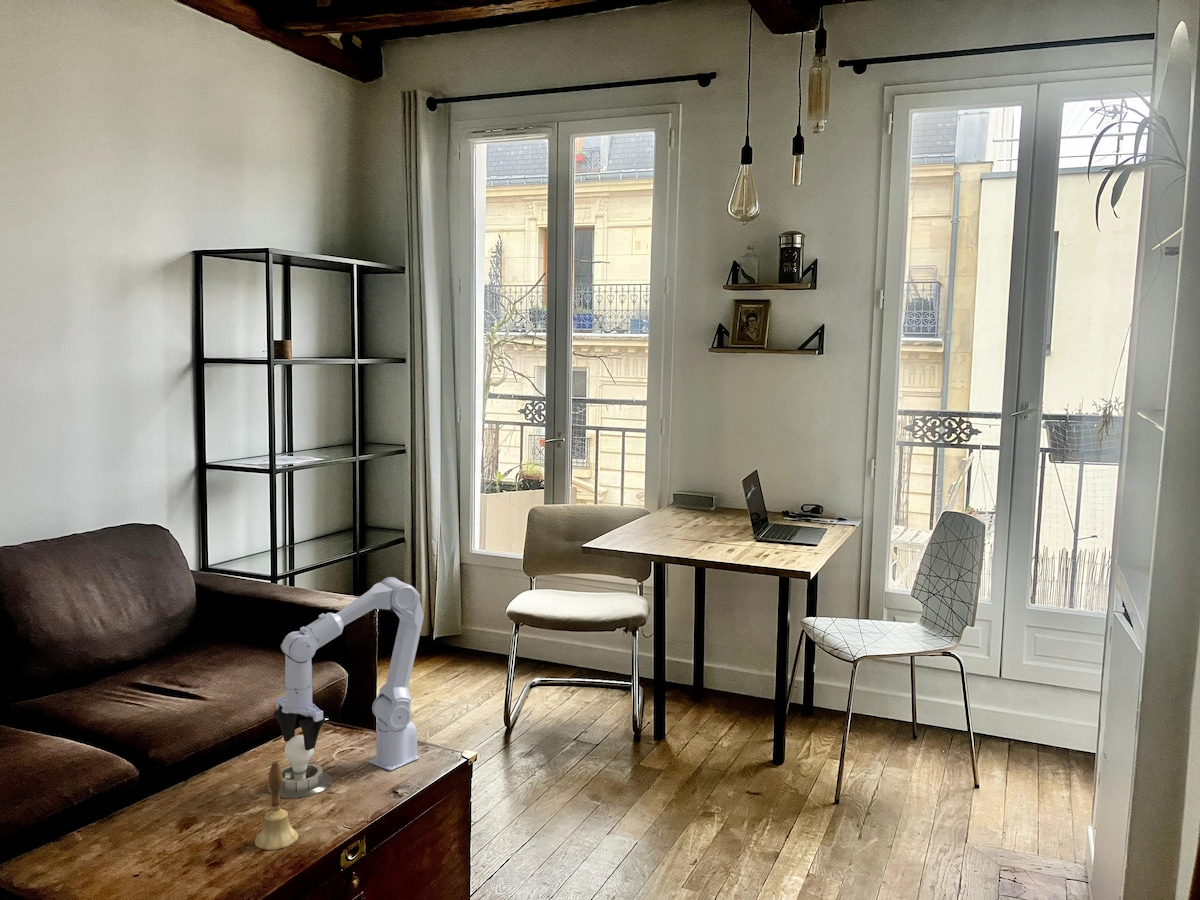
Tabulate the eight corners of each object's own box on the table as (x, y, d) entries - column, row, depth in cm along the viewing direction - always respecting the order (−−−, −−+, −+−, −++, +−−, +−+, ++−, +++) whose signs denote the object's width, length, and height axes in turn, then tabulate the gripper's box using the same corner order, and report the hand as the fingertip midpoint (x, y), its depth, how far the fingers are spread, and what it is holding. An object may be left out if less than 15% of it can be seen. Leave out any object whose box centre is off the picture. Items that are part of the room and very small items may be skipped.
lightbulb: (309, 774, 216) (309, 728, 215) (318, 785, 211) (317, 738, 210) (281, 780, 213) (281, 734, 212) (289, 791, 208) (289, 743, 207)
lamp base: (306, 765, 222) (306, 754, 222) (344, 782, 214) (344, 770, 213) (254, 786, 210) (253, 774, 210) (292, 804, 202) (292, 792, 202)
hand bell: (245, 841, 186) (244, 764, 185) (280, 825, 193) (280, 750, 192) (272, 854, 182) (271, 775, 180) (307, 837, 189) (306, 761, 187)
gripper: (263, 683, 211) (264, 741, 212) (304, 697, 202) (304, 758, 204) (290, 675, 217) (291, 732, 218) (330, 689, 208) (331, 748, 209)
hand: (299, 744), depth 211 cm, fingers open, 7 cm apart
